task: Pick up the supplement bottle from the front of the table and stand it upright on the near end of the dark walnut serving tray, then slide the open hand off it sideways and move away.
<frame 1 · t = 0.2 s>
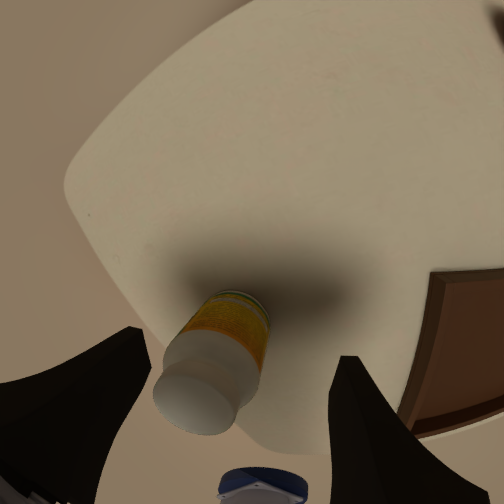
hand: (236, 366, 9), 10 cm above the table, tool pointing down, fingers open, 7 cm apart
supplement bottle: (235, 320, 20), on the table
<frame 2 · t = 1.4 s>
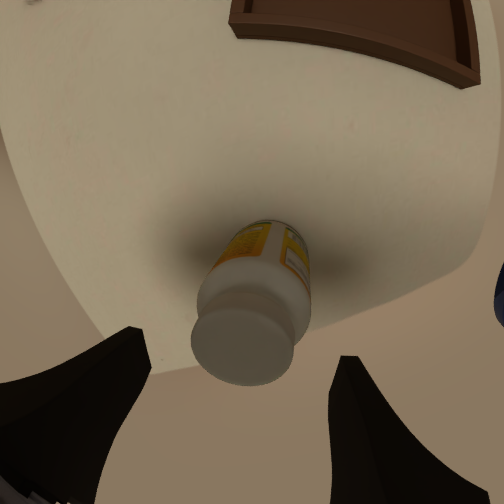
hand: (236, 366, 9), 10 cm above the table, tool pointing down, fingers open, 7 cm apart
supplement bottle: (268, 256, 19), on the table
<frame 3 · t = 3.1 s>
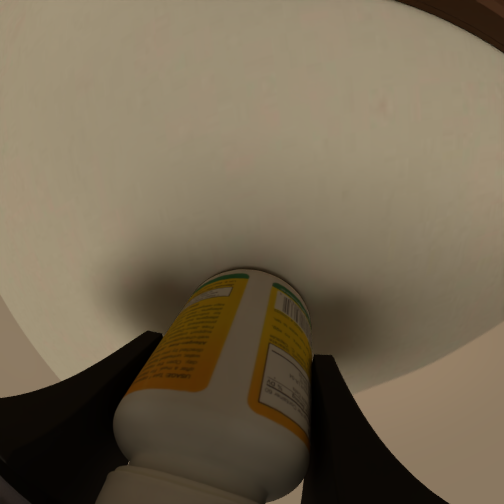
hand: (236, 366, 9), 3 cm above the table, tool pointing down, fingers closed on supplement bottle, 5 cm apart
supplement bottle: (248, 318, 12), on the table, touching gripper
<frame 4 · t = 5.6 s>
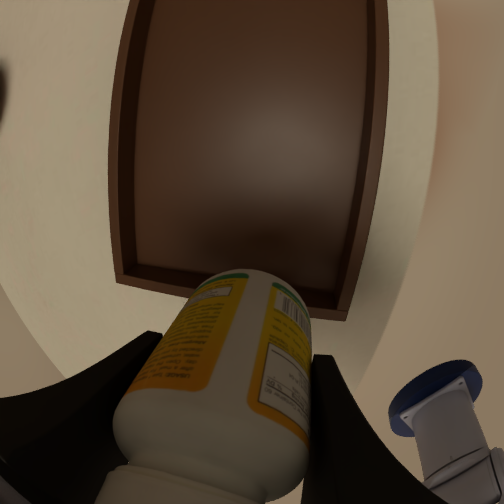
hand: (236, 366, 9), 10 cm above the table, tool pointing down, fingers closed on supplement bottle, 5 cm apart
tray: (248, 63, 14), on the table
supplement bottle: (248, 317, 12), point 7 cm above the table, touching gripper
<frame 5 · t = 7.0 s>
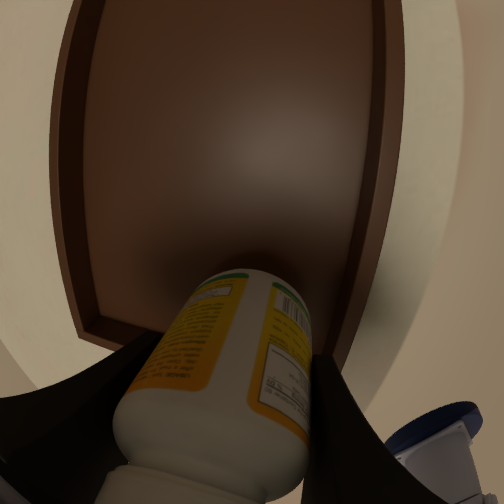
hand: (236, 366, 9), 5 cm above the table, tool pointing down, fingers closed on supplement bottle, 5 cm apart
tray: (212, 74, 11), on the table
supplement bottle: (248, 317, 12), point 2 cm above the table, touching gripper
when the fingers open (3 cm above the table, at t = 8.2 s): supplement bottle stays where it is, resting on tray.
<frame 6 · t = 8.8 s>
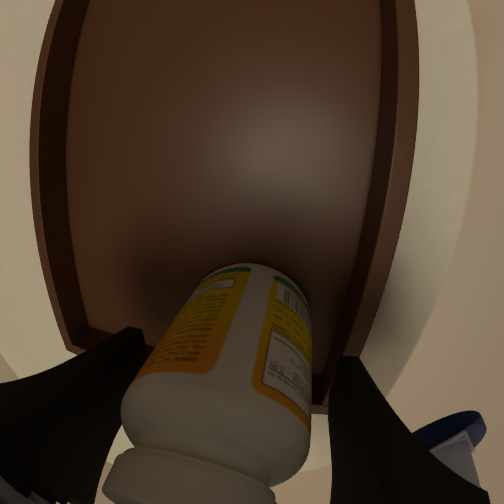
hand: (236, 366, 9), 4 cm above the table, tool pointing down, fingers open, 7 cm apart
tray: (202, 67, 9), on the table
supplement bottle: (250, 311, 13), resting on tray
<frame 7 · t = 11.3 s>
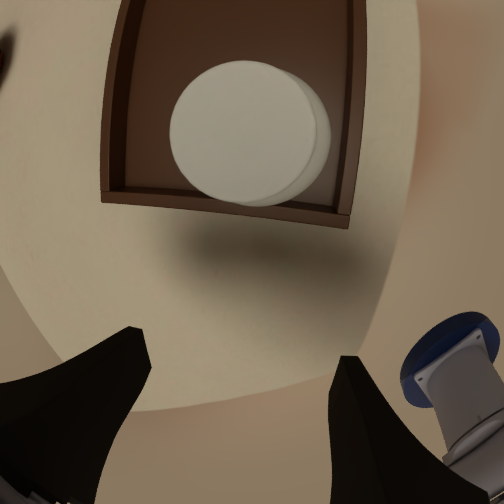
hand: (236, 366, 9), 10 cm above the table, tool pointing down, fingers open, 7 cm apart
supplement bottle: (272, 140, 16), resting on tray
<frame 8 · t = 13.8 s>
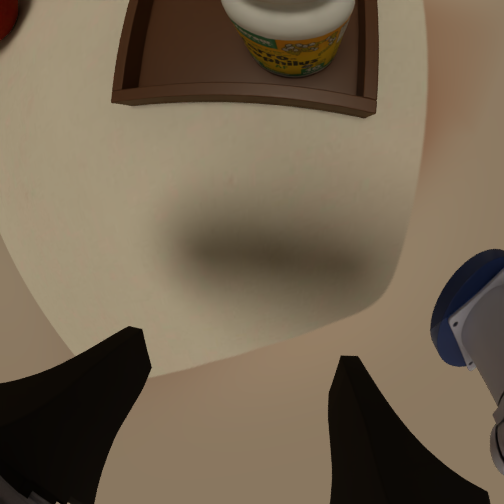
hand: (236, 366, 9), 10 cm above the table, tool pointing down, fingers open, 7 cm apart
apple: (12, 22, 13), on the table
supplement bottle: (292, 42, 13), resting on tray
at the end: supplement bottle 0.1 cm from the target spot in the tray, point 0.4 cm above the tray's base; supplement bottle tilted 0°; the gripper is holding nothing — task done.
